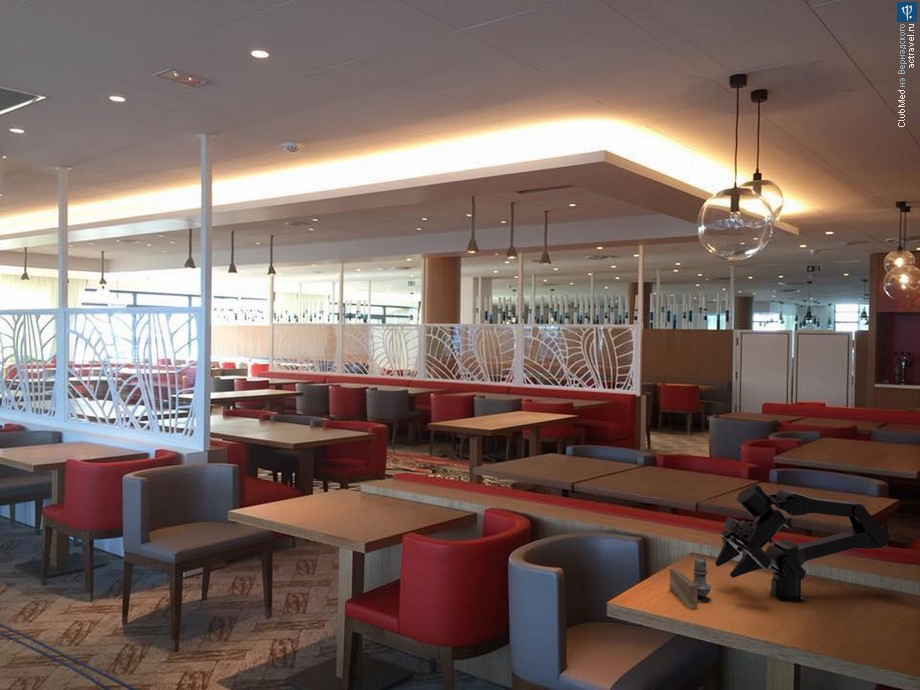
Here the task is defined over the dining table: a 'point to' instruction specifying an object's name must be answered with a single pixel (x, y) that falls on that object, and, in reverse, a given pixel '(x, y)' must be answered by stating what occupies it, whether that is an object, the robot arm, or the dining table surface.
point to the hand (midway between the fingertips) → (723, 570)
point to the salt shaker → (701, 580)
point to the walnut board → (683, 588)
